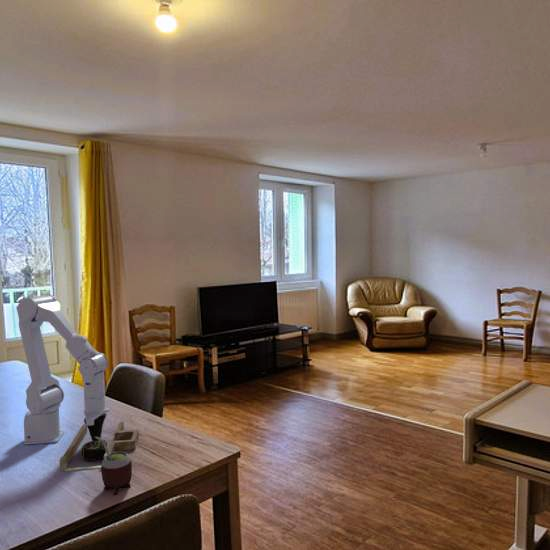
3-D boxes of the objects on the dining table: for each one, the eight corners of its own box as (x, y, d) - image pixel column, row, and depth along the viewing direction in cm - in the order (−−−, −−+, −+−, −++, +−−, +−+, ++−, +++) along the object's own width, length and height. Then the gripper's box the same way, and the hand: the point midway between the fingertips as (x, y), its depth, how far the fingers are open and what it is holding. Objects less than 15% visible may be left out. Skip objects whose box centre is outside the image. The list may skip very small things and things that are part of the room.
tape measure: (107, 460, 129) (107, 447, 128) (80, 465, 126) (80, 451, 126) (107, 450, 135) (107, 437, 135) (82, 454, 133) (81, 441, 132)
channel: (58, 471, 122) (58, 461, 122) (82, 432, 148) (82, 423, 148) (130, 465, 125) (130, 455, 125) (141, 427, 151) (141, 419, 151)
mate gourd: (134, 479, 118) (132, 421, 117) (129, 496, 110) (127, 434, 109) (103, 482, 116) (101, 423, 115) (96, 499, 109) (94, 436, 108)
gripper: (103, 402, 131) (105, 449, 132) (113, 387, 145) (114, 429, 146) (77, 404, 130) (79, 451, 131) (89, 388, 144) (91, 431, 145)
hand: (96, 440), depth 138 cm, fingers closed
